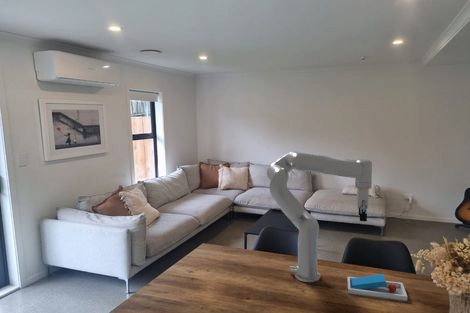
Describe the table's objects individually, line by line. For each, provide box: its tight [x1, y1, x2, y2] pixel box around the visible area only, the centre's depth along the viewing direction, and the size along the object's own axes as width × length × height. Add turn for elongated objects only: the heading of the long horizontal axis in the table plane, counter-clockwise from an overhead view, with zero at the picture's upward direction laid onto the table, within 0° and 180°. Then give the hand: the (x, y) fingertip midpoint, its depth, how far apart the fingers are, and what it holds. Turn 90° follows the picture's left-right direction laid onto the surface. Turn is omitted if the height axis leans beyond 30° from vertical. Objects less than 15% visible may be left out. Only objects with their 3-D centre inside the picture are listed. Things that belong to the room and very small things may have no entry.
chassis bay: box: [347, 276, 408, 303], centre depth 151 cm, size 24×12×2 cm, turn 73°
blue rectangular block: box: [352, 273, 396, 292], centre depth 151 cm, size 7×7×18 cm
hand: (362, 218), depth 166 cm, fingers open, 9 cm apart
